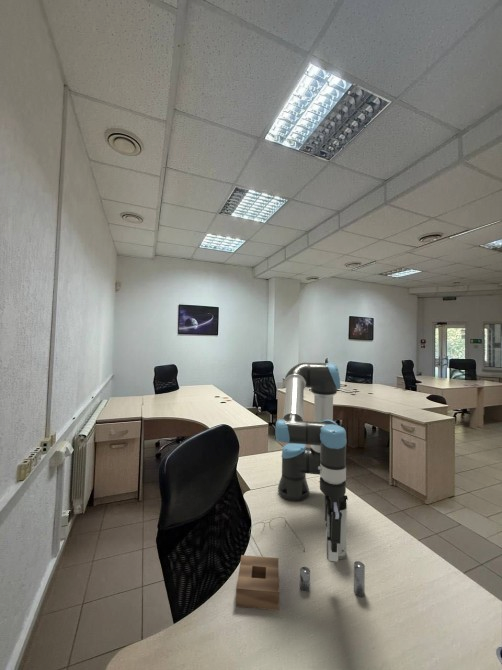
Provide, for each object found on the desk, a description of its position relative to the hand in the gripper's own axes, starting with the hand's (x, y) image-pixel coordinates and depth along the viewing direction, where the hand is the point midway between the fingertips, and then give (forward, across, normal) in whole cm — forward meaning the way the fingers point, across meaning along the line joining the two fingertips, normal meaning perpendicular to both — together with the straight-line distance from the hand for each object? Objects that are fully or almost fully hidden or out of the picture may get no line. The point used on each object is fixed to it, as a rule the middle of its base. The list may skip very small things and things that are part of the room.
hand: (331, 554), depth 84 cm
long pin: (+1, 0, 0) cm, 1 cm away
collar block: (+10, +3, -22) cm, 24 cm away
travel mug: (+11, -14, +5) cm, 18 cm away
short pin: (+10, +1, -8) cm, 13 cm away
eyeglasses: (+11, -16, -17) cm, 26 cm away
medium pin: (+10, +1, +8) cm, 13 cm away
